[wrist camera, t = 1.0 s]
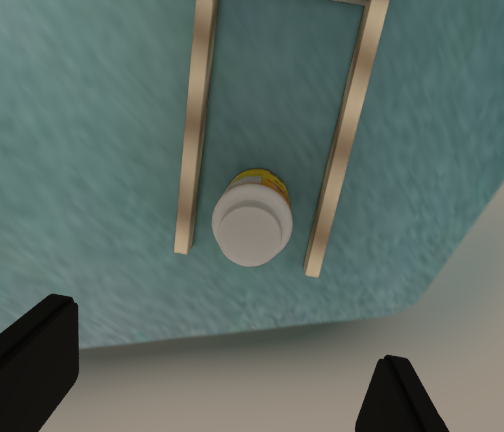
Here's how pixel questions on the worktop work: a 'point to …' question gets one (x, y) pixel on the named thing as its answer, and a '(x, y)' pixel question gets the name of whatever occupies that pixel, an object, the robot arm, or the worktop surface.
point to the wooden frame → (342, 140)
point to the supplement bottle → (253, 218)
